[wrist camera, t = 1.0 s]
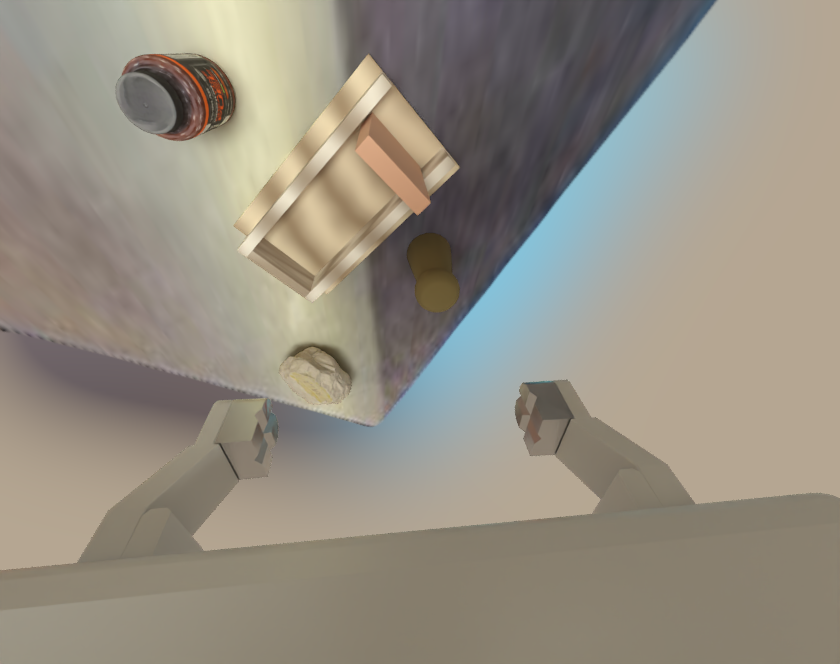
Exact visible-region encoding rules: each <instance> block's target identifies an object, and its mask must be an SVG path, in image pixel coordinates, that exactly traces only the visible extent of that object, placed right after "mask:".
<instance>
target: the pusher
mask: <svg viewBox="0 0 840 664" xmlns="http://www.w3.org/2000/svg"><path fill="white" fill-rule="evenodd" d="M355 152H356V153H357V154H358V155H359V156H360V157H361V158H362V159H363V160H364V161H365V162H366V163H367V164H368V165H369V166H370V167H371V168H372V169H373V170H374V171H375V172H376V173H377V174H378V175H379V176H380V177H381V178H382V180H383V181H384V182H385V183H386V184H387V185H388V186H389V187H390V188H391V189H392V190H393V191H394V192H395V193H396V194H397V195H398V196H399V197H400V198H401V199H402V200H403V201H404V202H405V203H406V204H407V205H408V206H409V207H410V208H411V209H412V210H413V212H414V213H415V214H416V215H417V216H418V215H419V214H420V213H421V212H422V211H423V210H424V209H425V208H426V207H427V206H428V205H429V204H430V203H431V201H430V198H429V195H428V192H427V188H426V185H425V182H424V179H423V175H422V172H421V169H420V166H419V165H418V164H417V162H416V161H415V160H414V159H413V158H412V157H411V156H410V154H409V153H408V152H407V151H406V150H405V149H404V148H403V146H402V145H401V144H400V143H399V142H398V141H397V140H396V139H395V137H394V136H393V135H392V134H391V133H390V132H389V131H388V129H387V128H386V127H385V126H384V125H383V124H382V123H381V121H380V120H379V119H378V118H377V117H376V116H375V115H374V113H373V112H371V114H370V115H369V116H368V117H367V118H366V119H365V121H364V122H363V123H362V124H361V128H360V132H359V136H358V140H357V144H356V148H355Z"/></svg>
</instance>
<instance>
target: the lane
mask: <svg viewBox="0 0 840 664" xmlns="http://www.w3.org/2000/svg"><path fill="white" fill-rule="evenodd" d="M371 112H373V113H374V115H375V116H376V117H377V118H378V119H379V120H380V121H381V123H382V124H383V125H384V126H385V127H386V128H387V129H388V131H389V132H390V133H391V134H392V135H393V136H394V137H395V139H396V140H397V141H398V142H399V143H400V144H401V145H402V146H403V148H404V149H405V150H406V151H407V152H408V153H409V154H410V156H411V157H412V158H413V159H414V160H415V161H416V162H417V164H418V165H419V166H420V169H421V172H422V175H423V179H424V182H425V185H426V188H427V192H428V195H429V197H430V196H431V195H432V194H433V193H434V192H435V191H436V190H437V189H438V188H439V187H440V186H441V185H442V184H443V183H444V182H445V181H447V180H448V179H449V178H450V177H451V176H452V175H453V174H454V173H455V172H456V171H457V170H458V169H459V168H460V167H459V165H458V164H457V163H456V162H455V160H454V159H453V158H452V157H451V155H450V154H449V153H448V152H447V150H446V149H445V148H444V147H443V145H442V144H441V143H440V142H439V141H438V139H437V138H436V137H435V136H434V134H433V133H432V132H431V131H430V129H429V128H428V127H427V126H426V124H425V123H424V122H423V121H422V119H421V118H420V117H419V116H418V114H417V113H416V112H415V111H414V109H413V108H412V107H411V106H410V104H409V103H408V102H407V101H406V99H405V98H404V97H403V96H402V94H401V93H400V92H399V91H398V89H397V88H396V87H395V86H394V84H393V83H392V82H391V81H390V80H389V78H388V77H387V76H386V75H385V73H384V72H383V71H382V70H381V68H380V67H379V66H378V65H377V63H376V62H375V61H374V60H373V58H372V57H371V56H370V55H369V54H368V55H367V56H366V58H365V59H364V60H363V61H362V63H361V64H360V65H359V66H358V68H357V69H356V70H355V72H354V73H353V74H352V75H351V77H350V78H349V79H348V80H347V82H346V83H345V84H344V86H343V87H342V88H341V89H340V91H339V92H338V93H337V94H336V96H335V97H334V98H333V100H332V101H331V102H330V103H329V105H328V106H327V107H326V108H325V110H324V111H323V112H322V114H321V115H320V116H319V117H318V119H317V120H316V121H315V122H314V124H313V125H312V126H311V128H310V129H309V130H308V131H307V133H306V134H305V135H304V136H303V138H302V139H301V140H300V142H299V143H298V144H297V145H296V147H295V148H294V149H293V150H292V152H291V153H290V154H289V156H288V157H287V158H286V159H285V161H284V162H283V163H282V164H281V166H280V167H279V168H278V170H277V171H276V172H275V173H274V175H273V176H272V177H271V178H270V180H269V181H268V182H267V184H266V185H265V186H264V187H263V189H262V190H261V191H260V192H259V194H258V195H257V196H256V198H255V199H254V200H253V201H252V203H251V204H250V205H249V206H248V208H247V209H246V210H245V212H244V213H243V214H242V215H241V217H240V218H239V219H238V220H237V222H236V223H235V224H234V225H233V226H234V227H235V228H237V229H238V230H240V231H241V232H242V233H244V234H245V235H246V236H247V237H246V238H245V240H244V241H243V242H242V244H241V245H240V247H239V248H238V250H237V251H238V252H239V253H241V254H242V255H244V256H245V257H247V258H248V259H250V260H251V261H252V262H254V263H255V264H257V265H258V266H260V267H261V268H262V269H264V270H265V271H267V272H268V273H270V274H271V275H273V276H274V277H275V278H277V279H278V280H280V281H281V282H283V283H284V284H285V285H287V286H288V287H290V288H291V289H293V290H294V291H296V292H297V293H298V294H300V295H301V296H303V297H304V298H306V299H307V300H308V301H310V302H311V303H313V302H314V301H315V300H316V299H317V298H318V297H319V296H320V295H321V294H322V293H323V292H325V293H326V294H328V293H329V292H330V291H331V290H332V289H333V288H335V287H336V286H337V285H338V284H339V283H340V282H341V281H342V280H343V279H344V278H345V277H346V276H347V275H348V274H349V273H350V272H351V271H352V270H353V269H354V268H355V267H356V266H358V265H359V264H360V263H361V262H362V261H363V260H364V259H365V258H366V257H367V256H368V255H369V254H370V253H371V252H372V251H373V250H374V249H375V248H376V247H377V246H378V245H380V244H381V243H382V242H383V241H384V240H385V239H386V238H387V237H388V236H389V235H390V234H391V233H392V232H393V231H394V230H395V229H396V228H397V227H398V226H399V225H400V224H402V223H403V222H404V221H405V220H406V219H407V218H408V217H409V216H410V215H411V214H412V213H413V210H412V209H411V208H410V207H409V206H408V205H407V204H406V203H405V202H404V201H403V200H402V199H401V198H400V197H399V196H398V195H397V194H396V193H395V192H394V191H393V190H392V189H391V188H390V187H389V186H388V185H387V184H386V183H385V182H384V181H383V180H382V178H381V177H380V176H379V175H378V174H377V173H376V172H375V171H374V170H373V169H372V168H371V167H370V166H369V165H368V164H367V163H366V162H365V161H364V160H363V159H362V158H361V157H360V156H359V155H358V154H357V153H356V152H355V148H356V144H357V140H358V136H359V132H360V128H361V124H362V123H363V122H364V121H365V119H366V118H367V117H368V116H369V115H370V114H371Z"/></svg>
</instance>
